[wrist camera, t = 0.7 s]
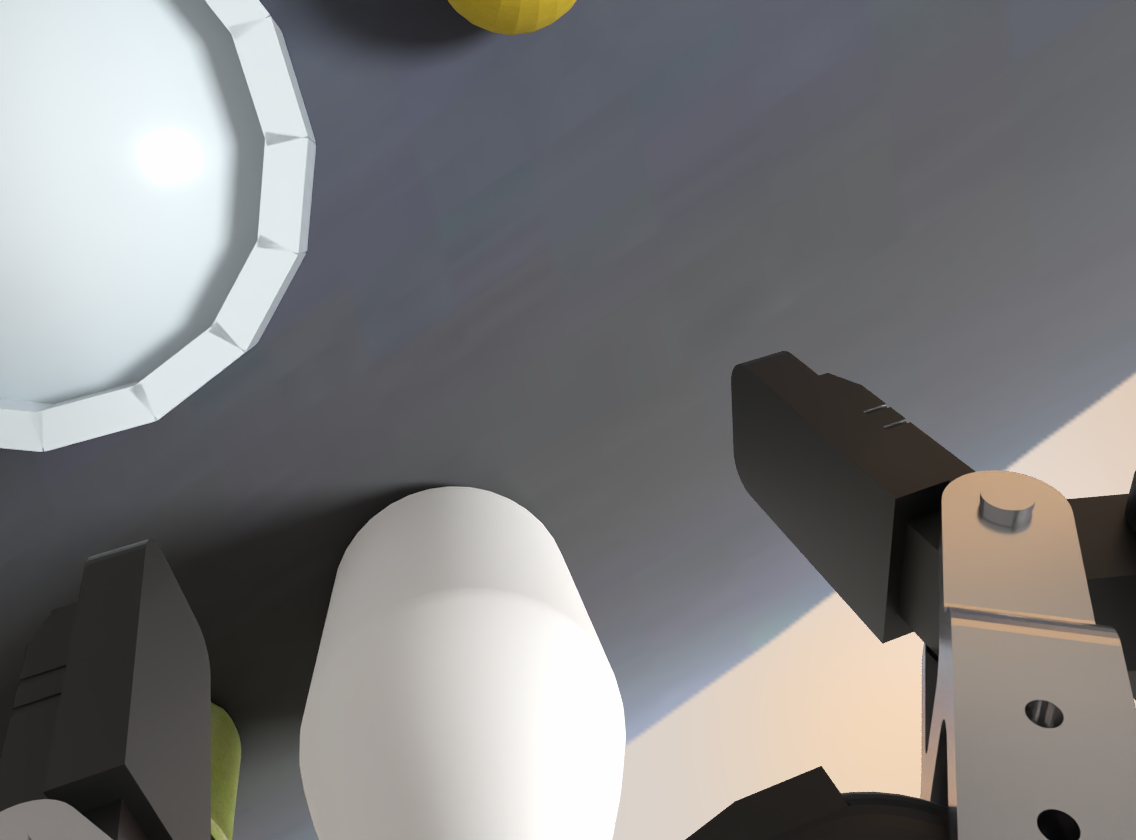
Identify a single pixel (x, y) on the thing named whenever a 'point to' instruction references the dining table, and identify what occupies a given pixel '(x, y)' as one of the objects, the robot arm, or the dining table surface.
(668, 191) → the dining table surface
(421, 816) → the wine bottle
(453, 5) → the lemon
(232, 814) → the plant pot
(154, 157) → the dish
